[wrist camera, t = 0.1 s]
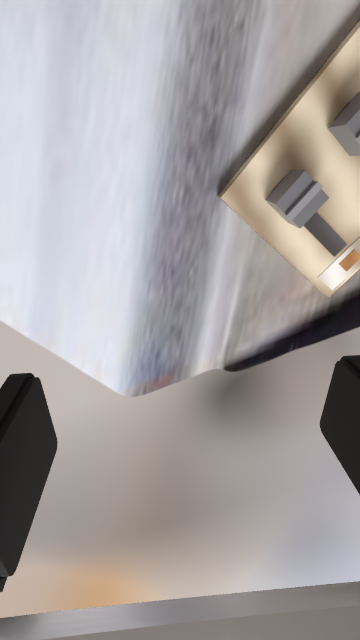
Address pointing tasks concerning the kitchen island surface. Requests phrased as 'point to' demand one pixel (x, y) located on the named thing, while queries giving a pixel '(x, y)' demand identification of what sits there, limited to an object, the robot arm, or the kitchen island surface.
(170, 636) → the robot arm
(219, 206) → the kitchen island surface
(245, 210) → the switch panel
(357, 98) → the switch tab
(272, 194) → the switch tab
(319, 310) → the kitchen island surface
